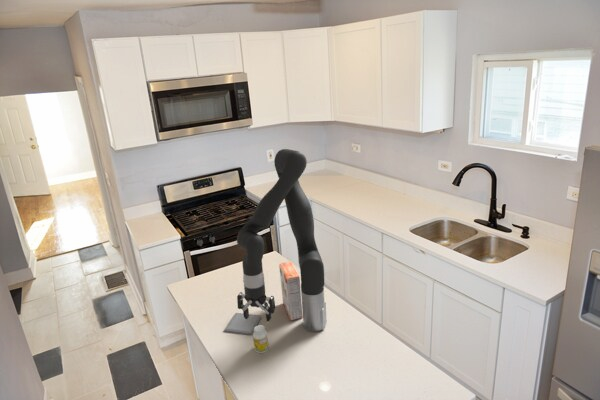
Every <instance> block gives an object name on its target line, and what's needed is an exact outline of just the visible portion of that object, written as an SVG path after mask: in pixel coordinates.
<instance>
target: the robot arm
mask: <svg viewBox="0 0 600 400" xmlns="http://www.w3.org/2000/svg"><path fill="white" fill-rule="evenodd" d="M307 161H308V160H307V157H306V155H305V154H304V153H303V152H301V151H299V150H294V149H289V148H283V149H280V150H278V151H277V152H276V154H275V157H274V161H273V162H274V168H275V171H276V173H277V177H278V179H277V181H276V183H275V184H274V185H273V186H272V187H271V189H270V190H269V191H268V192H267V193H265V194H264V196H263V197H262V198H261V200H259V202H258V204H257V206H256V208H255V210H254V211H253V214H252V216H251V217H250V219H248V220H247V221H246V222H245V224H244V225H243V227H241V228H240V230H239V231H238V233H237V237H236V244H237V245H238V246H239V248H241V249H242V250H245V251H246V255H244V257H243V258H242V274H243V277H242V279H243V280H242V282H243V287H244V288H243V290H244V293H243V292H241V291H240V292H239V293H238V295H237V296H236V297H237V298H236V300H237V309H238V310H242V311H243V312H242V314H244V317H245V319H248V317H249V314H250V312H249V307H251V308H260V309H261V310H262V311H263V312H264V313H265V320H266V323H269V322H270V321H271V320H272V314H274V313H275V310H276V309H277V308H276V302H275V297H274V296H273V295H271V296H267V295H266V286H265V283H266V282H265V274H264V270H263V259H264V251H265V241H264V238H263V237H262V236H261V234H259V232H260V231H261V230H262V229H263V230H266V229H268V228H269V227H270V226H271V224H272V222H273V220H274V218H275V217H276V214H277V212H278V210H279V208H280V206H281V205H282V203H283V202H284V203H285V207H286V213H287V216H288V223H289V226H290V228H291V232H292V233H293V236H294V238H295V241H296V247H297V254H298V255H297V256H298V257H297V258H298V265H299V270H300V272H299V273H300V291H301V304H302V316H303V318H302V322H303V323H302V324H303V327H304V329H305V330H306V331H308V332H315V333H316V332H319V331H325V328H326V325H327V304H326V303H327V302H325V267H324V261H323V260H322V259H323V258H322V256H321V254H320V252H319V249H318V246H317V242H316V239H315V221H314V215H313V210H312V205H311V203H310V200H309V199H308V197H307V195H306V193H305V192H304V190H303V188H302V186H301V184H300V181H299V179H300V177H301V176H302V175H303V173H304V172H305V170H306V167H307V165H308V163H307ZM244 300H245V301H246V303H245V304H244Z"/></svg>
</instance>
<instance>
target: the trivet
mask: <svg viewBox="0 0 600 400" xmlns="http://www.w3.org/2000/svg"><path fill="white" fill-rule="evenodd" d="M261 319H262V315H259V314H252V313H251V314H250V313H249V317H248V319H245V317H244V314H243V312H242V313H241V312H235V314H234V315H233V317H232V318H231V319H230V321H229V322H228V324H227V325H226V326H225V328H224V330H223V331H224V332H226V333H227V332H228V333H232V334H233V333H234V334H241V335H242V334H243V335H247V336H248V335H249V336H253V333H254V328H255V327H256V326H258V324H259V322H260V321H261Z"/></svg>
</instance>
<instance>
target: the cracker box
mask: <svg viewBox="0 0 600 400" xmlns="http://www.w3.org/2000/svg"><path fill="white" fill-rule="evenodd" d="M278 267H279V276H280V285H281V295H282V305H283V306H284V308H285V311H286V313H287V316H288V318H289V320H290V321H294V320H299V319H303V311H302V296H301V277H300V275H299V274H298V271H297V269H296V268H295V266H294V265H293V262H292V261H287V262H286V261H285V262H281V263H278Z"/></svg>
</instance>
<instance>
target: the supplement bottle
mask: <svg viewBox="0 0 600 400" xmlns="http://www.w3.org/2000/svg"><path fill="white" fill-rule="evenodd" d="M265 328H266V327H265V326H264V325H261V324H259V325H258V324H257V326H256V327H255V328H254V331H253V333H252V338H253V345H254V347H253V348H254V351H255V352H256V353H259V354H263V353H266V352H267V351H268V349H269V339H268V332H267V331H266V329H265Z"/></svg>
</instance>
